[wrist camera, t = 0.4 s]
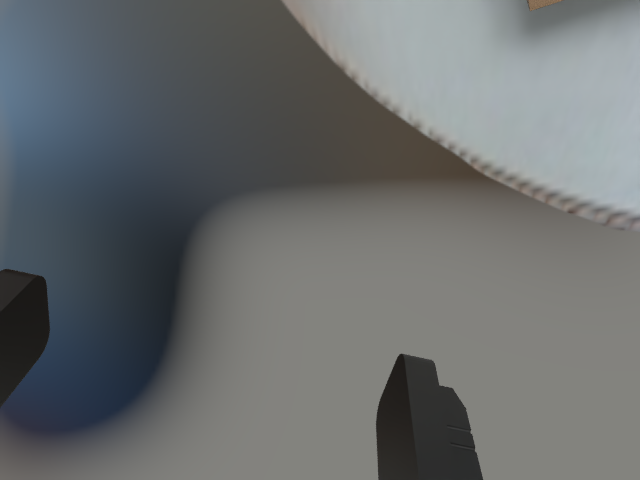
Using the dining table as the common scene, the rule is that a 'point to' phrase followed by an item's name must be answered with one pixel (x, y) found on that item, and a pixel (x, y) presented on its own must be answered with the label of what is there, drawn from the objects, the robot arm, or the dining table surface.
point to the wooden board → (540, 3)
